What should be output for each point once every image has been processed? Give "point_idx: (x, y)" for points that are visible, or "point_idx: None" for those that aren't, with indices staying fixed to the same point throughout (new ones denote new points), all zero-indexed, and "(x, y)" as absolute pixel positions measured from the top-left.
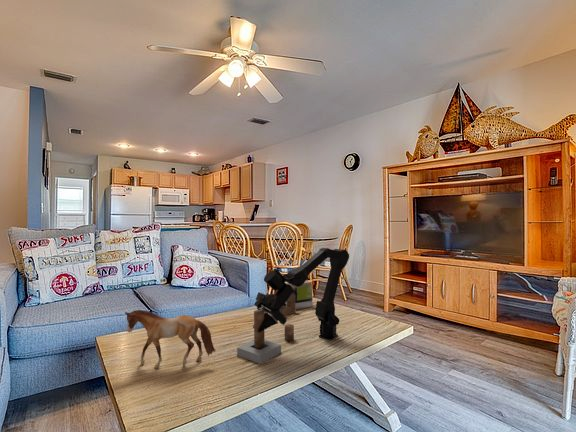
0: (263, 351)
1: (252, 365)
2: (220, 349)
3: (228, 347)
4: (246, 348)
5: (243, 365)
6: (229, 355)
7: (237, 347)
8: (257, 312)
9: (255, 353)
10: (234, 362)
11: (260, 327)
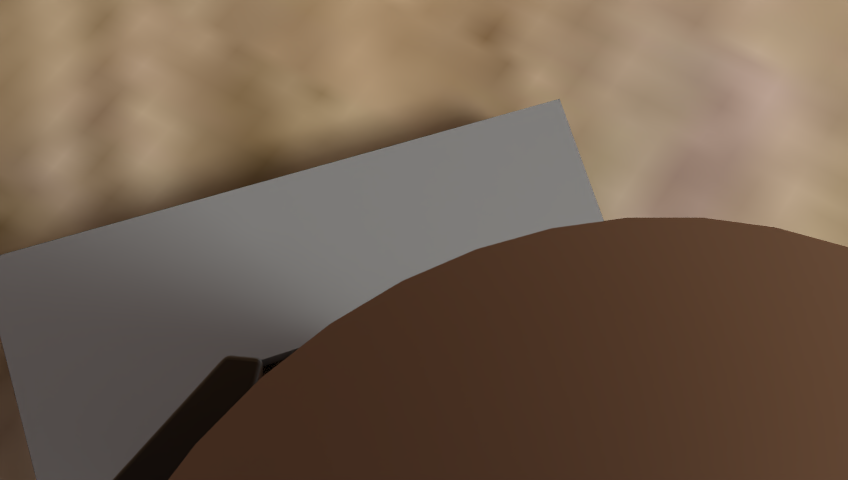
0: (100, 404)
1: (82, 164)
2: (832, 41)
3: (841, 161)
4: (424, 208)
5: (171, 62)
6: (582, 53)
7: (552, 101)
8: (427, 471)
9: (127, 235)
10: (337, 8)
11: (152, 444)
